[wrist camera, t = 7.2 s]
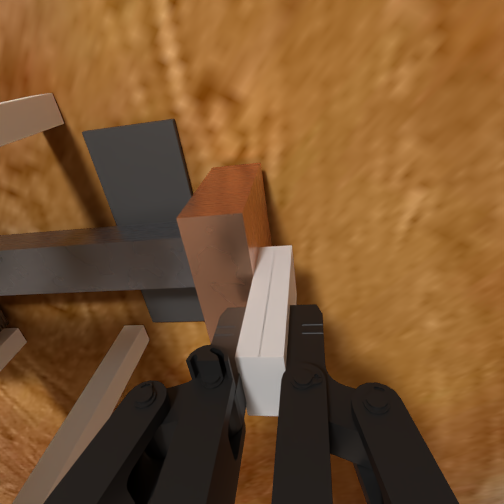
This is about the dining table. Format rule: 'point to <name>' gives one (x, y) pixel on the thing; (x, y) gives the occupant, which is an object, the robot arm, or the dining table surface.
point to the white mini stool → (125, 213)
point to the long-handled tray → (154, 249)
